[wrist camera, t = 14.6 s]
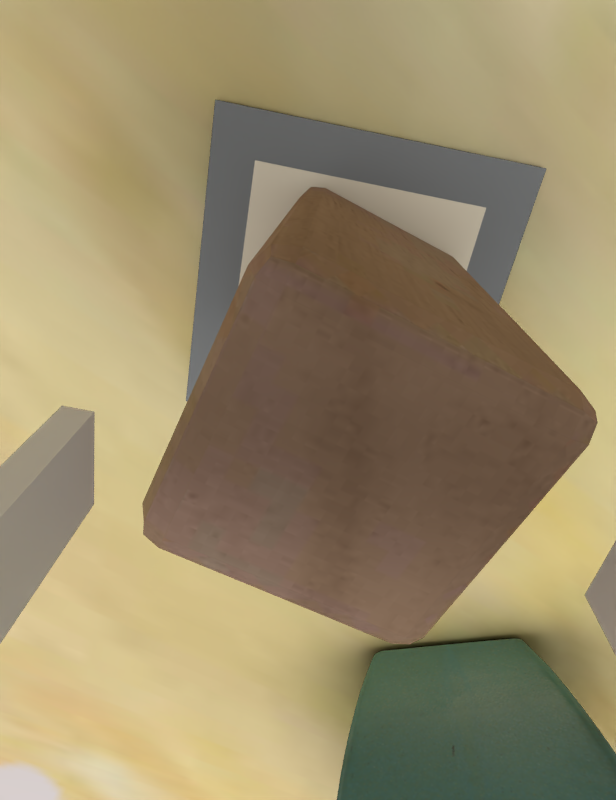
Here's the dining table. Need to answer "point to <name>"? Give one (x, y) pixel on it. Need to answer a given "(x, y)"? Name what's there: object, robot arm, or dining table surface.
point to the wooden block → (362, 427)
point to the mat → (357, 182)
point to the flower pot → (472, 729)
